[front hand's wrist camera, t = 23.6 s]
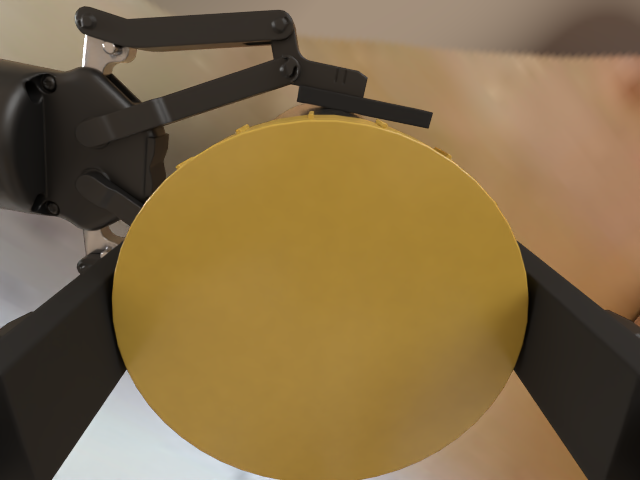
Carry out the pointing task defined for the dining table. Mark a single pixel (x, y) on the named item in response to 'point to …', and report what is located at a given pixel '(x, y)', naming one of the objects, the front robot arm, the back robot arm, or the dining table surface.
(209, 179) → the lid
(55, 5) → the dining table surface
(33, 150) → the back robot arm
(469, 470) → the dining table surface
